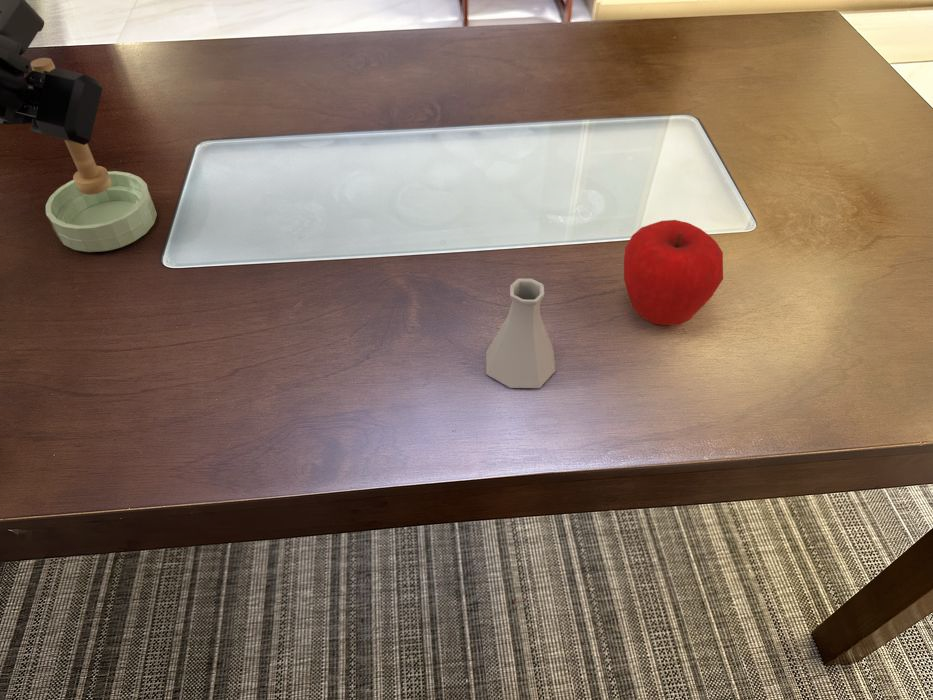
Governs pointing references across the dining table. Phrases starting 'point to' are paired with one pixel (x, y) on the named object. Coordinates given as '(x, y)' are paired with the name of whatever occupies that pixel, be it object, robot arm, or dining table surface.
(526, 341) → the flask
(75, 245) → the bowl
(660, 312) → the apple
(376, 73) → the dining table surface
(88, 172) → the tan wooden rod
